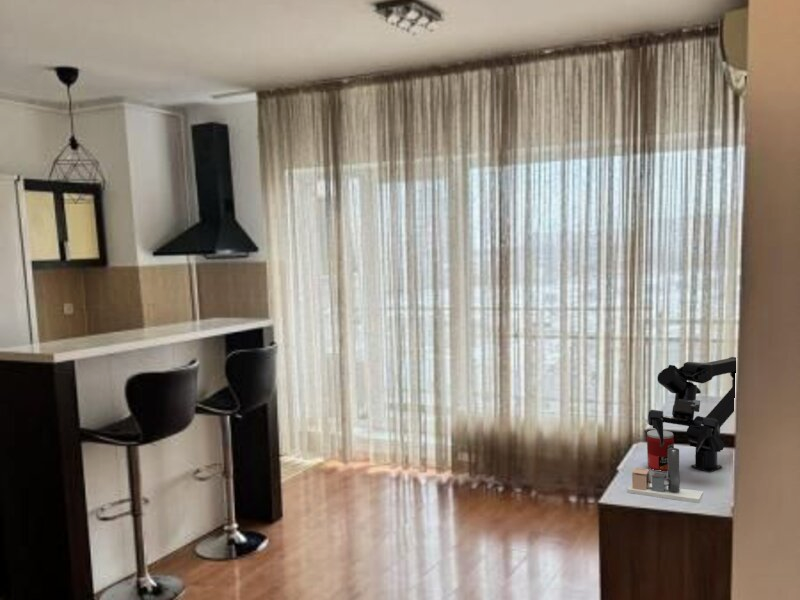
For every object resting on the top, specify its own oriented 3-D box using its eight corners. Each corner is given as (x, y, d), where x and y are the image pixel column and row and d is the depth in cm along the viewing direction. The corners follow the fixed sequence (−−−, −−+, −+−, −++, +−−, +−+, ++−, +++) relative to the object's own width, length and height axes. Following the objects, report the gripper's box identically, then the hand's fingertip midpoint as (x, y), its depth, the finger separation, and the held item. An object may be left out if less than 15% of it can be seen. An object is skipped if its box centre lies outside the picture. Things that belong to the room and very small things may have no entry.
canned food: (662, 473, 214) (661, 438, 213) (642, 466, 221) (641, 432, 220) (680, 468, 217) (679, 433, 216) (659, 462, 224) (658, 428, 223)
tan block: (649, 485, 201) (649, 469, 201) (646, 490, 198) (646, 474, 197) (636, 483, 203) (635, 467, 203) (632, 488, 200) (632, 472, 199)
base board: (703, 495, 195) (703, 491, 195) (699, 502, 189) (699, 499, 189) (633, 485, 205) (632, 481, 205) (627, 492, 200) (627, 489, 200)
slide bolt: (680, 488, 196) (680, 448, 195) (678, 492, 194) (677, 451, 193) (640, 483, 202) (639, 444, 201) (637, 486, 200) (636, 447, 199)
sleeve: (666, 488, 198) (666, 473, 198) (664, 492, 196) (663, 477, 195) (654, 486, 200) (654, 472, 200) (652, 490, 197) (651, 476, 197)
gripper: (651, 383, 207) (644, 431, 200) (720, 392, 199) (715, 443, 192) (652, 400, 216) (645, 447, 208) (718, 410, 208) (714, 459, 200)
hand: (679, 449), depth 202 cm, fingers open, 9 cm apart
